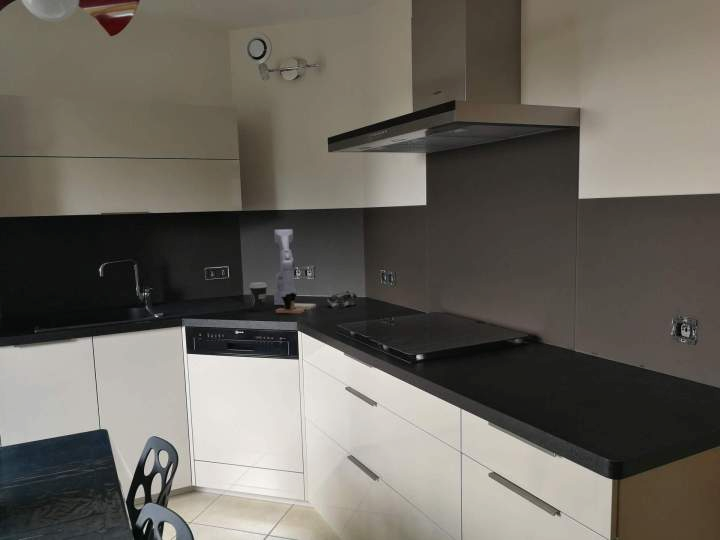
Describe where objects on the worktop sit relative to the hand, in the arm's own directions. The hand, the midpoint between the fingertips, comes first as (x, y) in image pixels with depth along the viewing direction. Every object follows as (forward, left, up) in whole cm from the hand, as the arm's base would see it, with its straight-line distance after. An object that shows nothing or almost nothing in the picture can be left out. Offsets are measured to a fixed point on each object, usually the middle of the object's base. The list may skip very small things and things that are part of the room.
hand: (289, 308), depth 299 cm
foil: (+21, +23, -3) cm, 31 cm away
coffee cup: (-19, +2, -2) cm, 19 cm away
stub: (0, +1, -2) cm, 2 cm away
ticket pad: (0, +15, -2) cm, 15 cm away
